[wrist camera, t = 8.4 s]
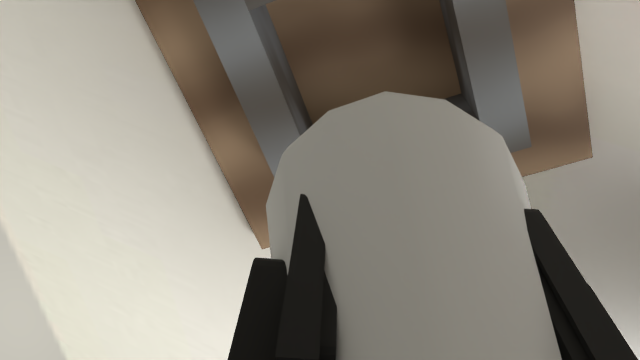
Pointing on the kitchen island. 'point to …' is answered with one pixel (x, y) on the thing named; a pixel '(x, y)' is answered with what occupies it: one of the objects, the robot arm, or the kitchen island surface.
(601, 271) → the kitchen island surface
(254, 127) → the holder
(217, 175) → the kitchen island surface
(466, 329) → the salt shaker
